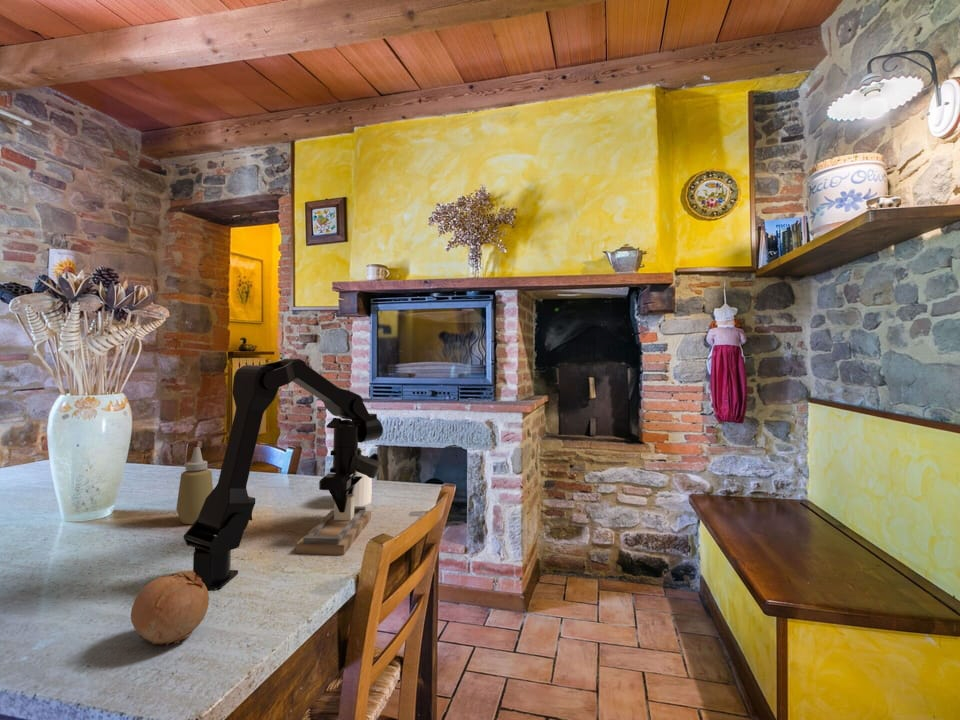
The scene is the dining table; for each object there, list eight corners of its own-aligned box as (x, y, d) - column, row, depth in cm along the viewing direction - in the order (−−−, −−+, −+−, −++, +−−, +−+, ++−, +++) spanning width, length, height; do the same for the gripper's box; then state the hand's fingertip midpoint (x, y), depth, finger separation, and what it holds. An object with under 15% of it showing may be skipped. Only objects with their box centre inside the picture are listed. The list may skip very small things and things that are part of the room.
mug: (376, 505, 132) (377, 468, 132) (340, 510, 127) (341, 472, 127) (361, 493, 143) (362, 459, 143) (327, 498, 137) (328, 462, 137)
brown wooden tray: (344, 554, 98) (344, 539, 98) (296, 553, 99) (296, 537, 99) (371, 519, 120) (371, 506, 120) (331, 517, 121) (332, 505, 121)
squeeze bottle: (168, 522, 115) (170, 448, 115) (201, 513, 122) (203, 443, 122) (188, 529, 111) (190, 452, 111) (221, 519, 118) (223, 446, 118)
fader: (350, 520, 113) (351, 497, 113) (333, 520, 113) (334, 496, 113) (354, 516, 116) (354, 493, 116) (337, 515, 116) (338, 493, 116)
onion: (197, 644, 72) (231, 577, 75) (168, 666, 63) (208, 588, 66) (137, 622, 72) (174, 555, 75) (99, 640, 63) (143, 563, 66)
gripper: (369, 454, 105) (367, 524, 105) (387, 439, 124) (386, 499, 124) (319, 452, 105) (317, 523, 105) (344, 438, 124) (343, 498, 124)
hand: (344, 510), depth 114 cm, fingers closed on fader, 3 cm apart
